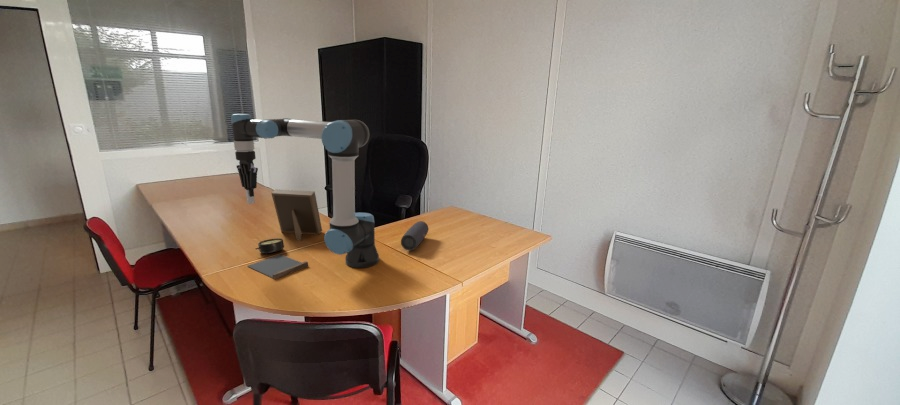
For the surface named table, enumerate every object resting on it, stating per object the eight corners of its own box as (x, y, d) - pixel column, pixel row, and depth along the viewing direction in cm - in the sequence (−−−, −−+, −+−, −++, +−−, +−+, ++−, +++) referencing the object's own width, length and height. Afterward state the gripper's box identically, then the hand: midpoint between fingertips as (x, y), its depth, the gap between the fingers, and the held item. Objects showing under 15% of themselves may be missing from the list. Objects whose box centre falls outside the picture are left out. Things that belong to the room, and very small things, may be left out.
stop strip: (308, 266, 166) (307, 261, 165) (274, 279, 153) (274, 274, 152) (306, 265, 167) (305, 261, 166) (272, 278, 154) (272, 273, 153)
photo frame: (285, 229, 211) (281, 186, 204) (322, 232, 209) (319, 188, 202) (270, 239, 196) (265, 193, 189) (310, 241, 194) (306, 195, 188)
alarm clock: (252, 246, 173) (268, 235, 189) (254, 256, 174) (270, 245, 190) (275, 244, 173) (290, 234, 189) (277, 255, 174) (291, 244, 190)
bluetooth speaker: (417, 253, 183) (417, 234, 180) (399, 251, 184) (399, 233, 182) (429, 238, 204) (429, 220, 202) (413, 236, 206) (413, 219, 203)
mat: (307, 265, 166) (307, 264, 166) (274, 279, 153) (274, 278, 153) (280, 255, 177) (280, 254, 176) (247, 266, 164) (247, 265, 163)
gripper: (261, 151, 160) (267, 203, 166) (245, 148, 167) (251, 199, 173) (244, 152, 154) (251, 207, 160) (228, 149, 160) (234, 202, 167)
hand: (251, 203), depth 166 cm, fingers closed
